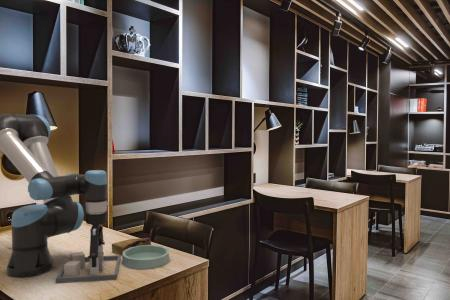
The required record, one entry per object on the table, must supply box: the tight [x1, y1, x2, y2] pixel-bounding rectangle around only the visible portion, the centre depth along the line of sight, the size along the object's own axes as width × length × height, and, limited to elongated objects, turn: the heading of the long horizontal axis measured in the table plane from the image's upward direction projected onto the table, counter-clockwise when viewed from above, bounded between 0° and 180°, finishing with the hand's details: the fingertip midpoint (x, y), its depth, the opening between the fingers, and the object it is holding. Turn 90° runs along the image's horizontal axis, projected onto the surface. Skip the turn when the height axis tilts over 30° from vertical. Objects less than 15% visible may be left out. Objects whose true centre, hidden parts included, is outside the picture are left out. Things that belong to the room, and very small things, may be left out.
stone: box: [111, 237, 152, 256], centre depth 163 cm, size 15×9×5 cm, turn 132°
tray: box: [55, 254, 122, 284], centre depth 141 cm, size 20×21×2 cm
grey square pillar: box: [98, 251, 105, 273], centre depth 141 cm, size 4×4×6 cm
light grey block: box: [63, 261, 82, 277], centre depth 134 cm, size 4×4×5 cm
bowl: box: [121, 244, 170, 270], centre depth 151 cm, size 18×18×4 cm
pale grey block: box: [69, 250, 86, 269], centre depth 144 cm, size 4×4×5 cm
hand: (97, 268), depth 141 cm, fingers open, 13 cm apart
